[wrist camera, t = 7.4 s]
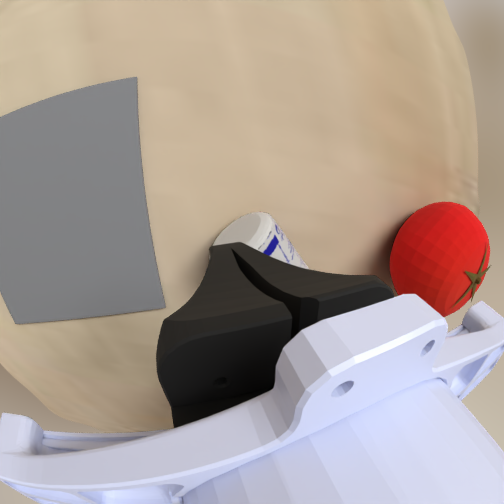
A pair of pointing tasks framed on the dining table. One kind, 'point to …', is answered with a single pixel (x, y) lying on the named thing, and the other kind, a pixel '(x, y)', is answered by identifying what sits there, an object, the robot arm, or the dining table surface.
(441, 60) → the dining table surface
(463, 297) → the tomato
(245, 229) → the beverage can
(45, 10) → the dining table surface
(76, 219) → the mat
